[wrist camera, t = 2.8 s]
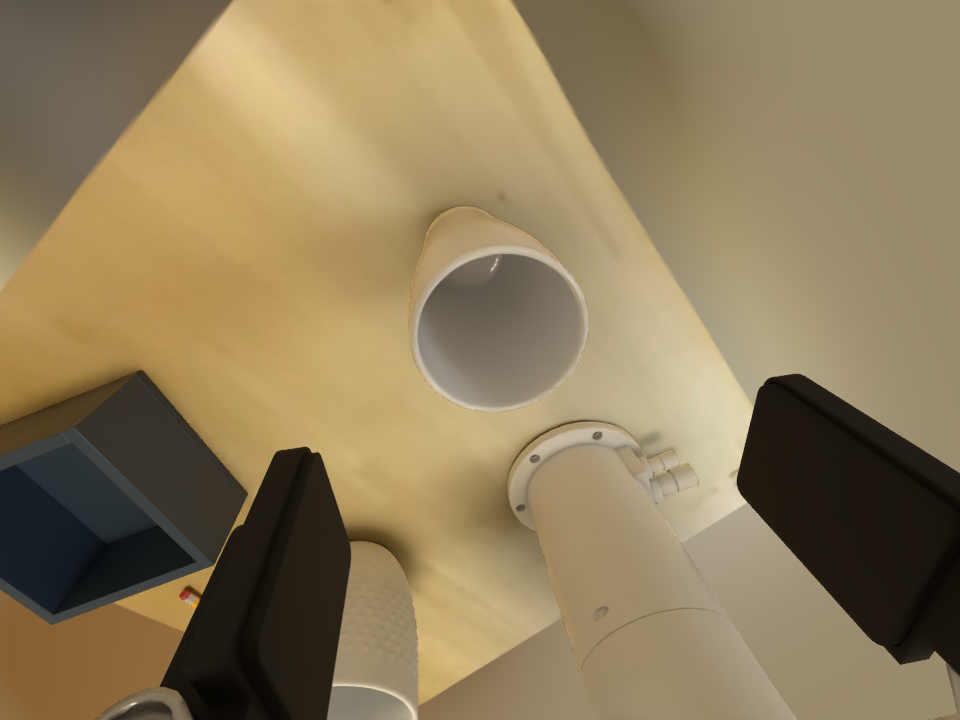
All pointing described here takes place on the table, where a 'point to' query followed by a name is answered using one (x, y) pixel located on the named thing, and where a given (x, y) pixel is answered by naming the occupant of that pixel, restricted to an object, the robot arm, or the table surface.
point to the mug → (376, 641)
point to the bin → (107, 500)
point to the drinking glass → (492, 314)
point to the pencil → (190, 598)
